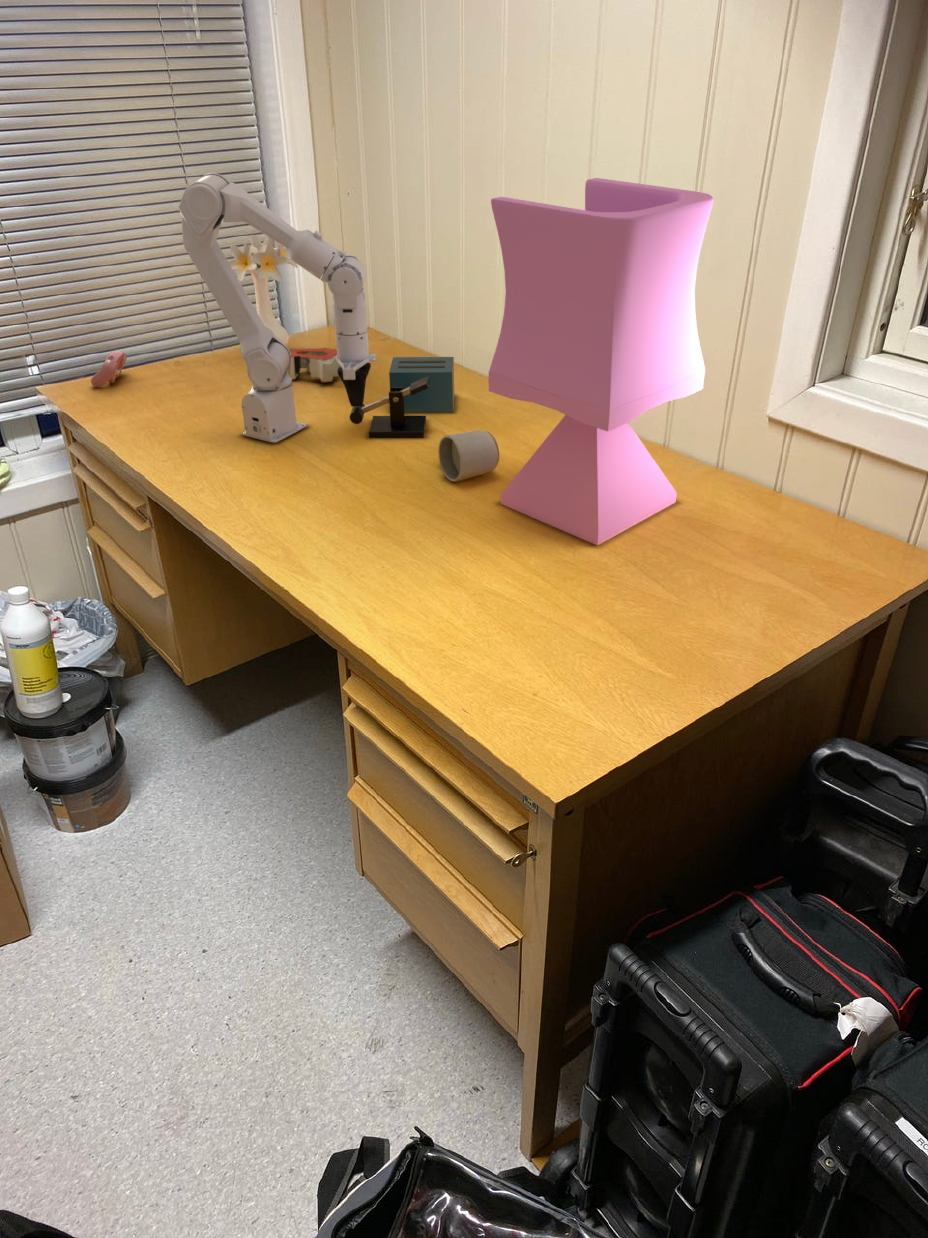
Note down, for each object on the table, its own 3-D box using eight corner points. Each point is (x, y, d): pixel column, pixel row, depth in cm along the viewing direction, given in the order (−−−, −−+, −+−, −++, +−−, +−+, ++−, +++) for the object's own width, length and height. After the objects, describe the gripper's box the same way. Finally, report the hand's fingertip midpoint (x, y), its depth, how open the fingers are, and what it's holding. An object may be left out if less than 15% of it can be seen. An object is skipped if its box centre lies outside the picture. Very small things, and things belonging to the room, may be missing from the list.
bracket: (369, 438, 174) (366, 397, 169) (373, 421, 180) (370, 382, 176) (423, 437, 173) (422, 397, 169) (426, 421, 180) (424, 381, 176)
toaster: (391, 412, 184) (388, 371, 180) (395, 396, 192) (392, 356, 187) (453, 412, 184) (452, 371, 179) (454, 395, 191) (453, 356, 187)
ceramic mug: (502, 476, 159) (502, 433, 155) (461, 488, 155) (460, 444, 151) (468, 456, 166) (467, 414, 162) (428, 467, 163) (426, 424, 159)
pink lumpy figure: (110, 395, 198) (118, 365, 195) (88, 385, 197) (96, 355, 194) (125, 379, 207) (133, 350, 203) (104, 369, 206) (112, 341, 202)
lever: (353, 426, 174) (347, 414, 173) (356, 415, 178) (350, 404, 177) (430, 392, 170) (424, 380, 169) (431, 382, 174) (426, 371, 173)
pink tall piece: (578, 461, 164) (595, 177, 139) (688, 502, 150) (728, 195, 125) (488, 503, 151) (488, 198, 126) (599, 552, 137) (623, 220, 113)
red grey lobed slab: (357, 360, 215) (270, 368, 207) (356, 336, 212) (268, 343, 204) (384, 380, 201) (292, 389, 193) (384, 355, 198) (291, 363, 191)
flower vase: (217, 356, 214) (199, 239, 200) (289, 339, 223) (276, 227, 210) (244, 371, 205) (226, 249, 192) (318, 353, 215) (306, 236, 201)
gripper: (369, 343, 161) (374, 419, 168) (378, 318, 173) (382, 390, 180) (328, 343, 161) (335, 419, 168) (339, 318, 173) (345, 391, 180)
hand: (357, 404), depth 174 cm, fingers closed
